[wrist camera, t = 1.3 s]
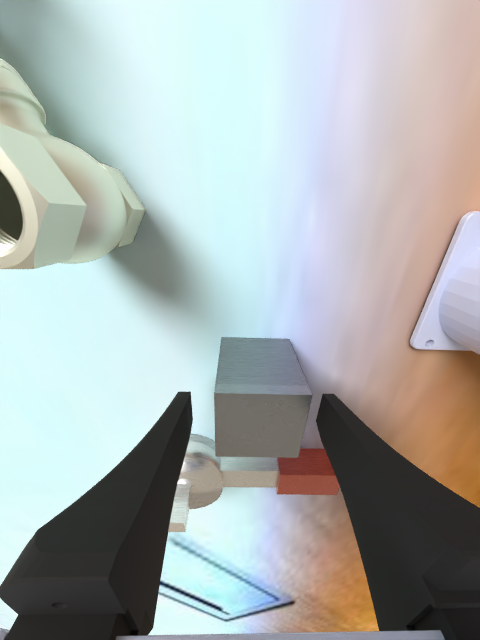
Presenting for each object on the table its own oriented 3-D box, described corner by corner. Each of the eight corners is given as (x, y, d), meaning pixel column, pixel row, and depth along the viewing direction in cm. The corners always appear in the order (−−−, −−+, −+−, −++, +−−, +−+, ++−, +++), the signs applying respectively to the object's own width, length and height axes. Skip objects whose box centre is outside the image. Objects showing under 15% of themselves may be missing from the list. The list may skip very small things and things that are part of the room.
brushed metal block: (289, 339, 14) (312, 394, 10) (281, 390, 16) (298, 457, 12) (221, 337, 14) (214, 393, 10) (221, 389, 16) (215, 456, 12)
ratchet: (337, 435, 19) (368, 504, 14) (323, 478, 21) (346, 548, 17) (151, 432, 18) (123, 502, 14) (159, 476, 21) (138, 548, 16)
